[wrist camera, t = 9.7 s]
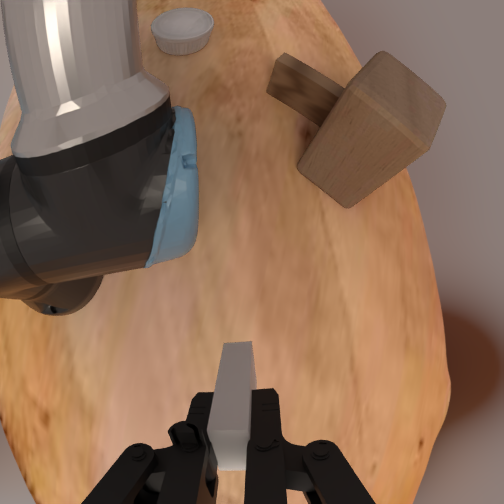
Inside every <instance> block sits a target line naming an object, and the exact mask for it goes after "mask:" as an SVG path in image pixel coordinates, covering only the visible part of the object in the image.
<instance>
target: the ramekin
mask: <svg viewBox="0 0 504 504" xmlns="http://www.w3.org/2000/svg"><path fill="white" fill-rule="evenodd" d="M213 27H214V20H213V17H212V16H211V15H210V14H209V13H207V12H206V11H203V10H201V9H196V8H177V9H173V10H169V11H166V12H164V13H162V14H161V15H159V16H158V17H156V18H155V19H154V21H153V22H152V24H151V31H152V34H153V35H154V37H155V40H156V43H157V45H158V47H159V48H160V49H161V50H162V51H164V52H165V53H168V54H171V55H188V54H192V53H195V52H197V51H199V50H200V49H202V48H203V47H204V46H205V45H206V44H207V42H208V40H209V37H210V33H211V31H212V29H213Z"/></svg>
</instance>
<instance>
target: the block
mask: <svg viewBox="0 0 504 504" xmlns="http://www.w3.org/2000/svg"><path fill="white" fill-rule="evenodd" d="M445 108H446V103H445V101H444V100H443V98H442V97H441V96H440V95H439V94H438V93H436V92H435V91H434V90H433V89H432V88H431V87H430V86H429V85H428V84H426V83H425V82H424V81H423V80H422V79H421V78H419V77H418V76H417V75H416V74H415V73H413V72H412V71H411V70H410V69H409V68H407V67H406V66H405V65H403V64H402V63H401V62H400V61H398V60H397V59H396V58H394V57H393V56H392V55H390V54H389V53H387V52H385V51H380V52H378V53H376V54H375V55H374V56H373V58H372V59H371V60H370V61H369V62H368V63H367V64H366V65H365V66H364V67H363V68H362V69H361V70H360V71H359V72H358V73H357V74H356V75H355V76H354V77H353V78H352V80H351V81H350V82H349V83H348V84H347V86H346V88H345V89H344V91H343V92H342V94H341V96H340V97H339V99H338V100H337V102H336V103H335V105H334V107H333V108H332V110H331V111H330V113H329V115H328V116H327V118H326V119H325V121H324V123H323V124H322V126H321V127H320V129H319V131H318V132H317V134H316V135H315V137H314V139H313V140H312V142H311V143H310V145H309V147H308V148H307V150H306V151H305V153H304V155H303V156H302V158H301V159H300V161H299V163H298V166H297V169H298V171H299V172H300V173H301V174H303V175H304V176H305V177H307V178H308V179H309V180H310V181H312V182H313V183H314V184H316V185H317V186H318V187H319V188H321V189H322V190H323V191H324V192H326V193H327V194H328V195H329V196H331V197H332V198H333V199H334V200H336V201H337V202H338V203H339V204H341V205H342V206H343V207H345V208H351V207H352V206H354V205H355V204H357V203H358V202H359V201H361V200H362V199H364V198H365V197H366V196H368V195H369V194H370V193H372V192H373V191H374V190H376V189H377V188H379V187H380V186H381V185H383V184H384V183H385V182H387V181H388V180H389V179H391V178H392V177H393V176H395V175H396V174H397V173H399V172H400V171H402V170H403V169H404V168H406V167H407V166H408V165H409V164H411V163H412V162H414V161H415V160H416V159H418V158H419V157H420V156H421V155H423V154H424V153H425V152H427V151H428V150H429V149H430V147H431V144H432V142H433V140H434V137H435V135H436V132H437V130H438V127H439V124H440V122H441V119H442V116H443V114H444V111H445Z"/></svg>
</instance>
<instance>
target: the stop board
mask: <svg viewBox="0 0 504 504" xmlns="http://www.w3.org/2000/svg"><path fill="white" fill-rule="evenodd" d="M343 91H344V88H343V87H342V86H340V85H338V84H337V83H335V82H334V81H332V80H331V79H329V78H328V77H326V76H324V75H323V74H321V73H320V72H318V71H316V70H315V69H313V68H311V67H310V66H308V65H306V64H305V63H303V62H301V61H299V60H298V59H296V58H294V57H292V56H290V55H289V54H287V53H284V54H282V55H281V56H280V57H279V58H278V59H276V62H275V65H274V68H273V72H272V75H271V78H270V82H269V85H268V89H267V92H266V93H268V94H270V95H272V96H273V97H275V98H277V99H278V100H280V101H282V102H283V103H285V104H286V105H288V106H290V107H291V108H293V109H294V110H296V111H297V112H299V113H301V114H302V115H304V116H305V117H307V118H308V119H310V120H311V121H313V122H314V123H316V124H317V125H319V126H320V127H321V126H322V124H323V123H324V121H325V119H326V118H327V116H328V115H329V113H330V111H331V110H332V108H333V107H334V105H335V103H336V102H337V100H338V99H339V97H340V96H341V94H342V92H343Z"/></svg>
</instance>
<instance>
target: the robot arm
mask: <svg viewBox="0 0 504 504" xmlns="http://www.w3.org/2000/svg"><path fill="white" fill-rule="evenodd" d="M1 9H2V18H3V27H4V34H5V40H6V46H7V52H8V57H9V62H10V67H11V72H12V75H13V80H14V84H15V88H16V92H17V96H18V100H19V103H20V107H21V110H22V114H21V120H20V122H19V125H18V127H17V129H16V132H15V134H14V137H13V139H12V142H11V149H12V153H13V155H11V156H9V157H6V158H4V159H1V160H0V298H8V299H19V300H21V301H23V302H24V303H25V304H27V305H28V306H29V307H31V308H32V309H34V310H35V311H37V312H39V313H42V314H45V315H52V316H59V315H68V314H71V313H74V312H76V311H78V310H80V309H81V308H83V307H84V306H85V305H86V304H87V303H88V302H89V301H90V300H91V299H92V298H93V296H94V295H95V293H96V292H97V290H98V288H99V286H100V284H101V281H102V278H103V275H105V274H110V273H116V272H122V271H127V270H133V269H138V268H149V267H151V266H152V265H153V264H156V263H160V262H164V261H168V260H172V259H175V258H179V257H182V256H183V255H185V254H186V253H188V252H189V251H190V250H191V249H192V247H193V246H194V244H195V241H196V237H197V232H198V219H199V182H198V169H197V165H196V162H197V154H196V152H197V140H196V130H195V122H194V117H193V114H192V112H191V110H190V109H188V108H182V107H180V106H175V107H172V108H171V102H170V92H169V87H168V86H167V85H166V84H165V83H164V82H162V81H161V80H159V79H158V78H156V77H154V76H153V75H151V74H150V73H148V72H147V71H145V69H144V67H143V62H142V53H141V45H140V36H139V26H138V15H137V3H136V0H1ZM256 383H257V380H256V373H255V364H254V356H253V348H252V341H249V342H235V343H224V345H223V350H222V355H221V360H220V365H219V370H218V375H217V380H216V385H215V391H214V392H198V393H197V394H196V395H195V397H194V398H193V399H192V401H191V405H190V408H189V412H188V415H187V419H186V421H181V422H178V423H175V424H174V425H173V426H171V427H170V428H169V430H168V434H169V436H170V438H171V441H172V443H173V445H172V446H170V447H167V448H162V449H155V450H153V449H152V447H151V446H149V445H147V444H143V443H137V444H133V445H131V446H129V447H128V448H126V449H125V450H124V452H123V453H122V454H121V455H120V457H119V458H118V459H117V460H116V462H115V463H114V464H113V465H112V467H111V468H110V469H109V470H108V472H107V473H106V474H105V475H104V477H103V478H102V479H101V480H100V481H99V483H98V484H97V485H96V486H95V488H94V489H93V490H92V491H91V493H90V494H89V495H88V496H87V497H86V499H85V500H84V501H83V502H82V503H81V504H216V497H217V489H218V475H217V465H218V467H219V470H246V476H245V497H244V504H287V494H286V489H291V490H297V491H303V494H304V496H305V498H306V500H307V502H308V504H376V503H375V502H374V500H373V499H372V498H371V496H370V495H369V493H368V492H367V490H366V489H365V487H364V486H363V484H362V483H361V481H360V480H359V478H358V477H357V475H356V474H355V472H354V471H353V469H352V468H351V466H350V465H349V463H348V462H347V460H346V459H345V457H344V456H343V454H342V452H341V451H340V449H339V448H338V446H336V445H335V444H334V443H333V442H330V441H328V440H317V441H313V442H311V443H309V444H308V445H307V446H299V445H294V444H291V443H289V442H288V441H286V440H285V439H284V437H283V435H282V430H281V418H280V406H279V395H278V394H277V392H276V391H275V390H274V388H270V389H257V390H256Z"/></svg>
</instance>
